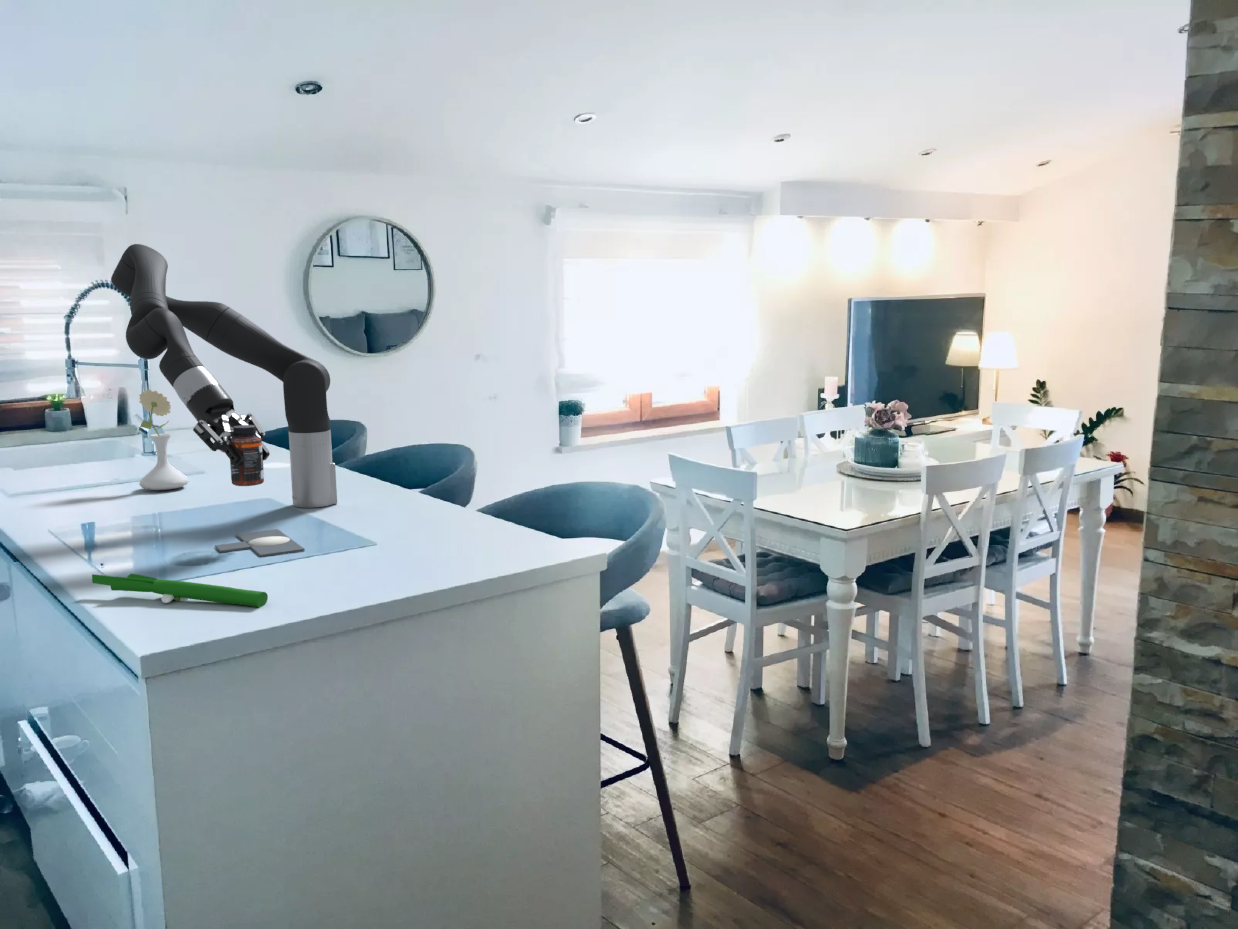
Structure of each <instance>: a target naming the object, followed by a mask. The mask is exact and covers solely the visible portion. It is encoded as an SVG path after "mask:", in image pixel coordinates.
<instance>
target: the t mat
mask: <svg viewBox="0 0 1238 929" xmlns="http://www.w3.org/2000/svg"><path fill="white" fill-rule="evenodd" d="M235 535H236V537H237V538H238V539H239V540H241V541H237V542H230V543H223V544H215V545H214V548H215V547H216V548H217V549H218V550H219V551H220V552H222V553H228V552H229V551H230V552H235V551H243V549H245V550H252V551H253V552H254V553H255V554H256V555H257V556H259V557H260V558H262V557H263V556H264V557H268V556H269V557H271V556H276V555H278V554H279V555H284V554H283V553H286V554H289V553H288V552H293V553H298V552H297V551H300V552H303V551H302V550H305V548H304V547H303V546H302V545H300V544H299V543H297V542H296V541H295V540H293V539H292V538H290V537H289V536H288V535H286V534H285V533H284V532H282V531H281V530H279V529H278V528H274V529H266V530H257V531H251V532H242V533H236V534H235ZM216 548H215V549H216ZM217 549H216V550H217ZM218 550H217V551H218ZM219 551H218V552H219ZM305 551H306V550H305ZM220 552H219V553H220ZM230 552H229V553H230Z"/></svg>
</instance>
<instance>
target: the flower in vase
mask: <svg viewBox="0 0 1238 929" xmlns="http://www.w3.org/2000/svg"><path fill="white" fill-rule="evenodd" d="M138 399H139V403H140V404H141V405H142V407H143V408H144V409H145V410H146V412H149V413H150V414H149V421H148V420H144V419H143V420H142V422H141V424H140V426H139V427H140V428H143V429H148V430H151V429H152V428H153V429H154V431H155V432H156V433H152V434H149V438H151V440H152V441H153V443H154V445H155V449H156V456H157V457H156V458H157V461H156V465H155V466H154V467H153V468H151V470H150V471H148V472H147V473H146V474H145V475H144V476H143V477H142V478H141V480H140V481H139V484H138V485H139V486H140V487H141V488H143V489H145V490H149V491H165V490H166V491H167V490H172V489H178V488H182V487H184V486H187V485H188V484H189V482H190V480H189V477H188V476H186V475H185V474H184V473H183V472H182V471H179V470H178V469H176V468H175V467H173V466H172V464H170V463H169V460H168V454H167V453H168V452H167V450H168V442H169V439H170V438H171V437H172V433H159V431H158V430H159V429H161V428H163V427H164V426H165V425H167V424H168V423H169V422H170V420H167V422H166V423H164V424H161V425H159V426H158V427H157V428H156V427H155V425H154V424H153V422H152V417H153V415H154V414H155V415H156V416H160V417H164V415H165V416H167V415H168V414H171V406H172V405H171V402H170V401H169V400H168V397H167V396H164V395H163V393H159V392H158V391H157V390H151V389H148V390H146V389H145V390H144V391H143V392H142V391H141V393H140V394H139V398H138Z"/></svg>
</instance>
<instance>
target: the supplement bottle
mask: <svg viewBox="0 0 1238 929" xmlns="http://www.w3.org/2000/svg"><path fill="white" fill-rule="evenodd" d="M233 429H234V432H233V433H234V435H233V437H230V438H231V441H232V444H231V445H233V444H234V445H235V446H236V447H237V449H238V450H239V451H240V452H241V454H242V455H243V456H244V458H245V460H244V462H243V463H242V464H241V465H240V466H236V465H235V464H234V463H233V462H232V461H231V460H230V459H229V461H230V464H229V465H230V478H231V479H230V481H231V484H232V485H233V486H237V487H253V486H258V485H261V484H263V483H264V482H265V472H264V460H263V453H262V443H263V440H262V439H261V438H260V437H258V436H257V435H256V433H257V431H256V427H255V426H254V425H239V426H234V427H233Z"/></svg>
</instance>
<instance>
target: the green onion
mask: <svg viewBox="0 0 1238 929" xmlns="http://www.w3.org/2000/svg"><path fill="white" fill-rule="evenodd" d="M91 580H92V581H91V582H92V584H95V585H103V586H110V590H111V591H121V592H122V591H123V592H124V591H126V592H140V593H153V594H156V595H157V594H158V595H162V596H161V601H162V603H166V604H167V603H171V602H172V601H173V600H174V601H175V602H178V601H180V602H182V603H183V602H184V603H185V602H187V601H188V599H190V600H198V601H205V602H213V603H221V604H227V605H228V604H229V605H237V606H238V605H240V606H248V607H253V608H255V607H256V608H261V607H263V606H266V604H267V602H268V598H269V597H268V593H267V592H266V591H260V590H259V591H258V590H250V589H242V588H236V587H230V586H225V585H224V586H223V585H216V584H209V583H201V582H200V583H199V582H192V581H191V582H190V581H183V580H174V579H162V578H156V577H151V576H147V575H146V576H145V575H142V574H136V573H132V572H131V573H130V574H129V575H127V577H126V576H125V577H124V576H113V575H112V576H111V575H102V574H94V573H93V574H91Z"/></svg>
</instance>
